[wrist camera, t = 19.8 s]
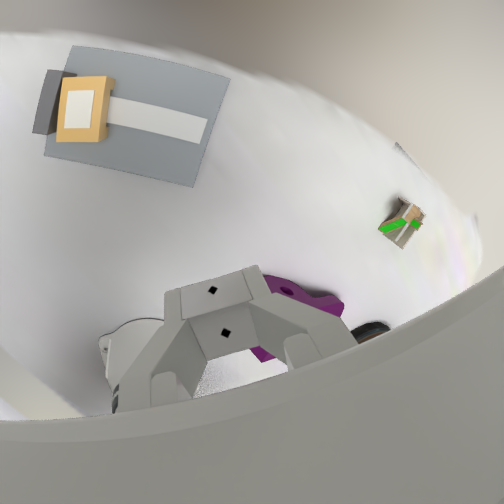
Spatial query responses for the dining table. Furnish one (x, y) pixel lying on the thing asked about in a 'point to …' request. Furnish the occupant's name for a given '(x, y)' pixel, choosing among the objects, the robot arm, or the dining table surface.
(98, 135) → the module
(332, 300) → the mounting bracket
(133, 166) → the backplate
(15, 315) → the dining table surface
